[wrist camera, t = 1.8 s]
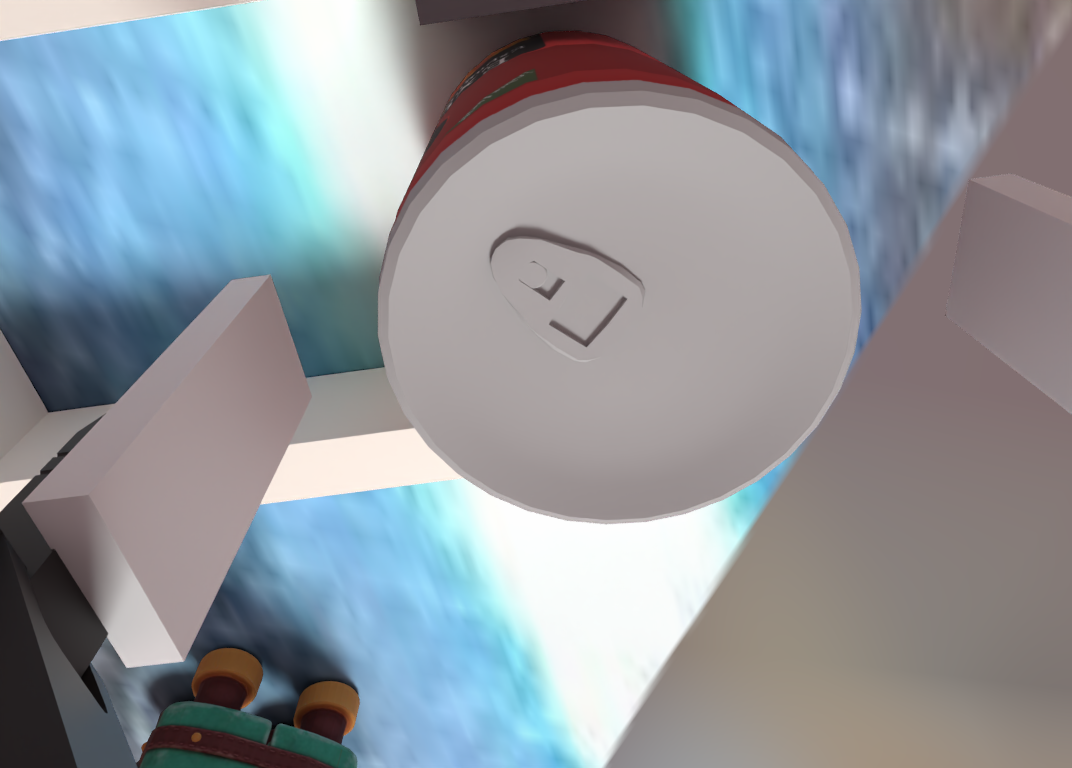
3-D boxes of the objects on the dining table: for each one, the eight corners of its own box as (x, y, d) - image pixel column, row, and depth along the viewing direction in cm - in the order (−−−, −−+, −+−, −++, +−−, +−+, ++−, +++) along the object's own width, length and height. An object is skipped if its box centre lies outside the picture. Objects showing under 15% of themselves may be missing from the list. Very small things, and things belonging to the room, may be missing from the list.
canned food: (479, -21, 18) (451, -10, 9) (750, 93, 20) (977, 206, 10) (401, 248, 22) (322, 464, 12) (637, 325, 23) (728, 569, 14)
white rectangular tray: (-261, -14, 18) (-448, -10, 14) (701, -166, 17) (752, -201, 13) (34, 464, 25) (-40, 543, 22) (705, 375, 24) (739, 442, 21)
